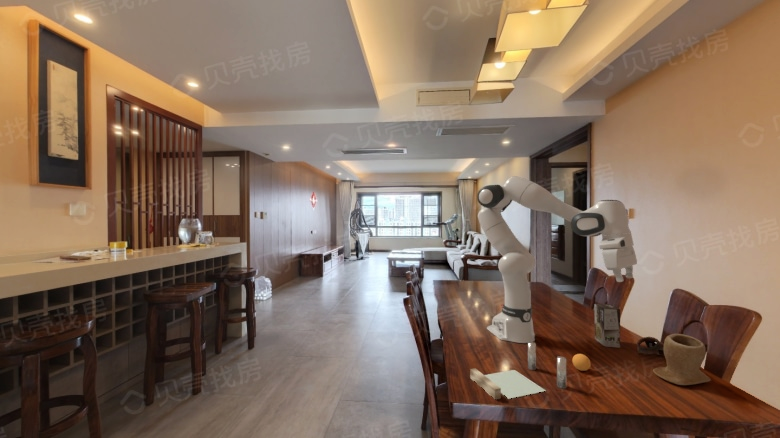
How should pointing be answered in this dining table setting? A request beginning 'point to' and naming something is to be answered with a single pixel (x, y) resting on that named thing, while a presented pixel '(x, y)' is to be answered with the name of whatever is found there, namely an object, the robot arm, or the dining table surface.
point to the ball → (581, 362)
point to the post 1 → (531, 355)
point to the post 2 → (561, 372)
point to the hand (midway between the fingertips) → (625, 279)
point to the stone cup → (683, 360)
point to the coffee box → (607, 325)
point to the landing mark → (514, 384)
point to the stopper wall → (485, 383)
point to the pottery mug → (650, 346)
